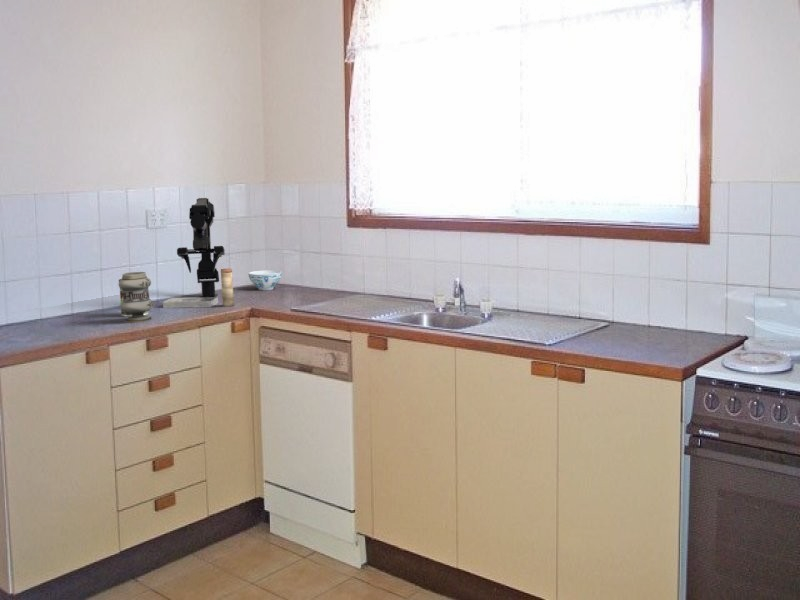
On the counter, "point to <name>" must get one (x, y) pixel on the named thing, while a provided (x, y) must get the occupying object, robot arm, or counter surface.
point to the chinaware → (265, 278)
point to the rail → (190, 302)
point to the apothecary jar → (136, 296)
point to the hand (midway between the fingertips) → (201, 272)
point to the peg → (227, 287)
